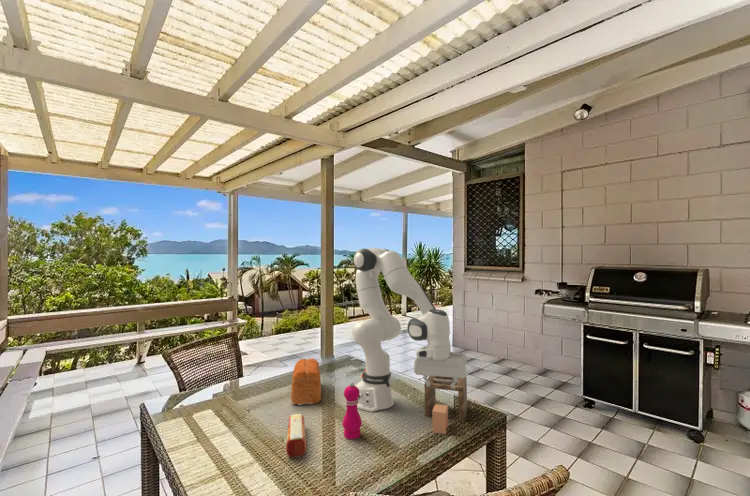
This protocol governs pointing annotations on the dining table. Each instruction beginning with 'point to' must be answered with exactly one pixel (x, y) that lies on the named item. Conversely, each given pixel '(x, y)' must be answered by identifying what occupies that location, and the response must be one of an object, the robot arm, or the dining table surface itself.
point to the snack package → (296, 436)
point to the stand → (445, 384)
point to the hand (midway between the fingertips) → (440, 387)
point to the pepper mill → (351, 413)
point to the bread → (306, 382)
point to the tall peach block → (440, 418)
